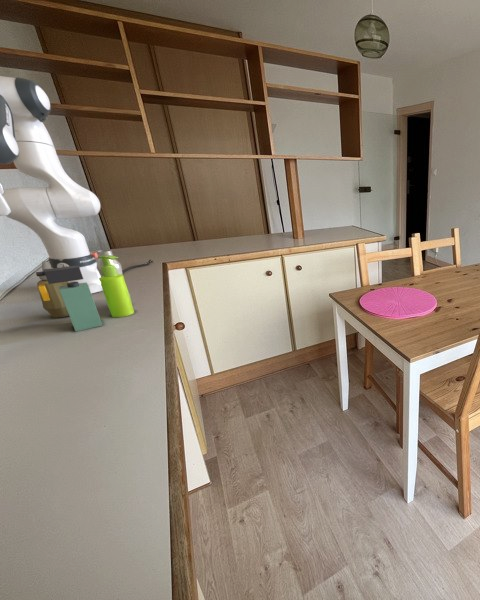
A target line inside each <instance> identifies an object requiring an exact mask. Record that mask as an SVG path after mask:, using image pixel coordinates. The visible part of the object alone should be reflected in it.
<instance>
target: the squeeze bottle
mask: <svg viewBox="0 0 480 600" xmlns="http://www.w3.org/2000/svg"><path fill="white" fill-rule="evenodd" d="M41 269H42V271H44V269H52V267H51V265H50V263H49V261H47V260H45V261H41ZM42 271H41V272H42ZM38 279H39V280H38V281H37V283H36V284H37V286H38V285H40V284H45V287H46V289H47V292H48V294H49V297H50V300H49V301H44V300H43V298H42V295H41V293H40V291H39V288H38V287H37V289H38V293H39V296H40V300H41V304H42V308H43V309H44V310H45V311H46V312H47V313H49V315H50V316H51V318H65V317H70V316H69V314H68V311H67V309H66V306H65V303H64V301H63V298H62V296H61V293H60V291H59V286H65V285H67V283H68V281H67V282H60V283H53V284H49V283H48V281H47V278H46V276H38Z"/></svg>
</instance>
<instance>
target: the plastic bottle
mask: <svg viewBox="0 0 480 600" xmlns="http://www.w3.org/2000/svg"><path fill="white" fill-rule="evenodd" d="M96 254H97V258H98V257H99V256H104V255H112V256H114V253H113V251H112V250H111V249H101V250H97V251H96ZM109 260H110V259H109ZM96 263H97V270H98V272H99V274H100V276H101V277H103V276H104V275H103V272H102V269H101V267H102V266H103V265H104V264H103V261H102V258H98V261H97V262H96ZM110 263H111V264H112V265H115V267H116V270H117V274H122V275H123V276H124V274H123V273H124V272H123V273H122V271H123V266H122V264H121V262H120V261H119V260H118V259H113V260H110ZM128 293H129V296H130V299H131V302H132V303H133V298H132V295H131V293H130V291H128Z"/></svg>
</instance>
